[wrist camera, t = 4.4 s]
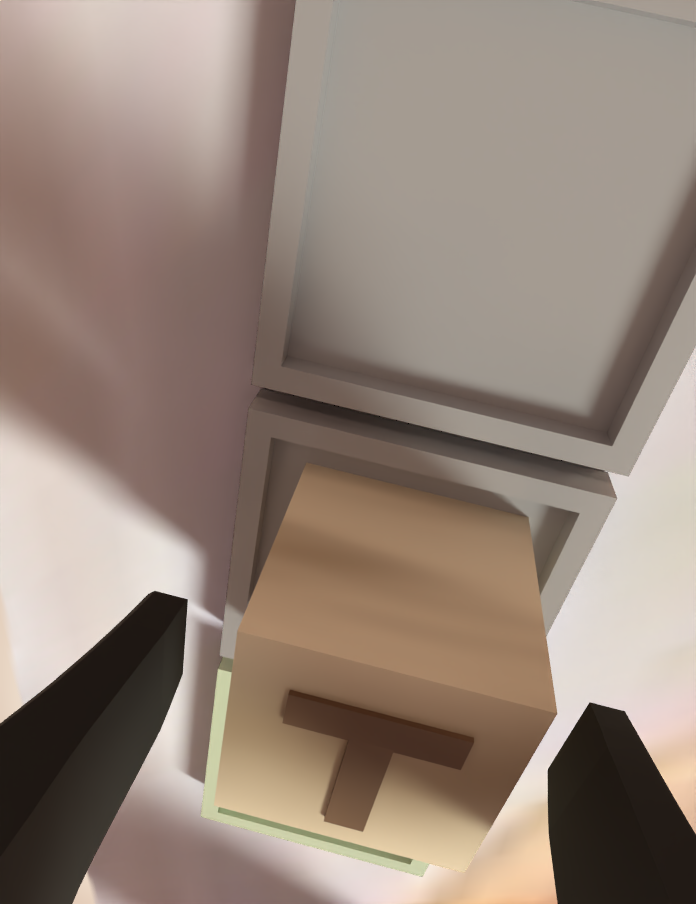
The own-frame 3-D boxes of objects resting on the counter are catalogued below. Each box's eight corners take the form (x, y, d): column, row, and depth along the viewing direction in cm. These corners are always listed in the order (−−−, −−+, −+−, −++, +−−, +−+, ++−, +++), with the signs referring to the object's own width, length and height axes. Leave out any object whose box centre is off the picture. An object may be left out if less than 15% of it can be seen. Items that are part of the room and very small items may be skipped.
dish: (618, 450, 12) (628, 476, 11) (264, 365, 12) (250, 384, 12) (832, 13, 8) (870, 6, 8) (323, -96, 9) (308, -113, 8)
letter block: (462, 669, 15) (462, 881, 11) (277, 621, 15) (211, 813, 11) (528, 517, 13) (557, 719, 9) (306, 462, 13) (235, 635, 9)
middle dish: (497, 697, 16) (498, 728, 15) (230, 628, 16) (219, 655, 16) (607, 472, 12) (617, 498, 12) (261, 388, 13) (248, 408, 12)
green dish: (424, 846, 20) (422, 876, 19) (210, 788, 20) (200, 817, 19) (491, 709, 16) (492, 740, 16) (229, 641, 17) (218, 668, 16)
